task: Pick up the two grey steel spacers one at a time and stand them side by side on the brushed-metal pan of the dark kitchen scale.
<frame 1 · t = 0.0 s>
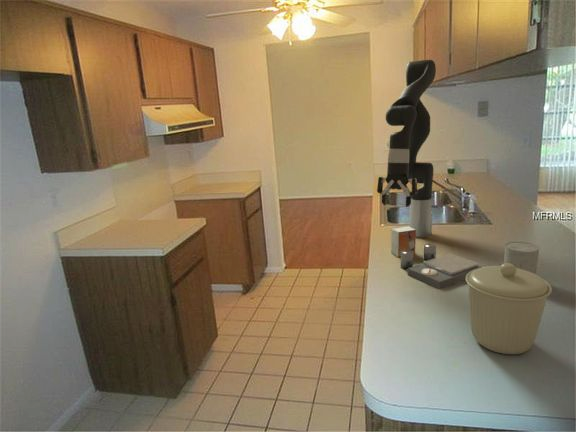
hand: (395, 205, 147), 22 cm above the worktop, tool pointing down, fingers open, 8 cm apart
canister: (501, 343, 99), on the worktop
spacer a: (406, 267, 147), on the worktop
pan: (450, 263, 140), point 3 cm above the worktop, slide at -0.4 cm
grey round cylinder: (518, 282, 130), on the worktop
spacer b: (429, 260, 152), on the worktop
scale: (444, 273, 139), on the worktop
small box: (403, 254, 160), on the worktop
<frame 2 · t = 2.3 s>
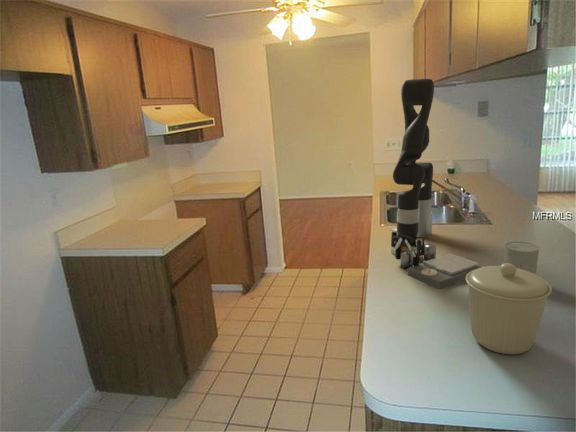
hand: (406, 262, 146), 2 cm above the worktop, tool pointing down, fingers open, 8 cm apart
nothing on the worktop moved.
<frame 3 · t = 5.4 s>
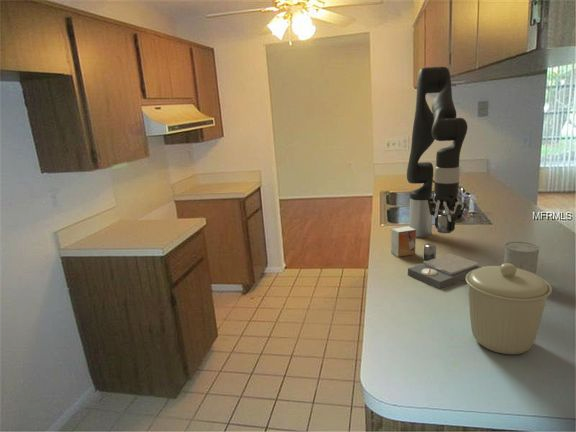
hand: (444, 229, 135), 17 cm above the worktop, tool pointing down, fingers closed on spacer a, 4 cm apart
spacer a: (444, 231, 135), point 16 cm above the worktop, touching gripper
everything else where it was.
when the fingers open (6 cm above the worktop, at t = 7.7 s): spacer a drops 1 cm, resting on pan.
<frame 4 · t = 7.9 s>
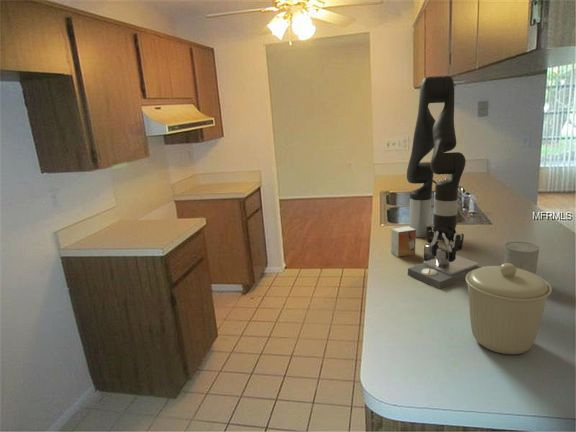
hand: (443, 258, 137), 6 cm above the worktop, tool pointing down, fingers open, 6 cm apart
spacer a: (442, 265, 138), point 4 cm above the worktop, touching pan
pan: (450, 263, 140), point 3 cm above the worktop, slide at -0.5 cm, touching spacer a
everything else where it was.
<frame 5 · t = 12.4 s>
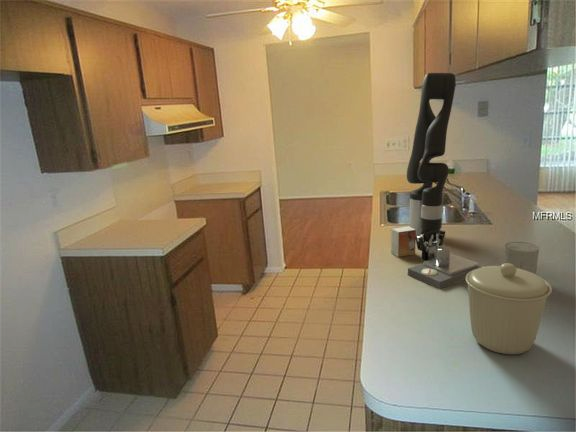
hand: (429, 258, 152), 1 cm above the worktop, tool pointing down, fingers closed on spacer b, 4 cm apart
spacer b: (429, 259, 152), on the worktop, touching gripper
everything else where it was.
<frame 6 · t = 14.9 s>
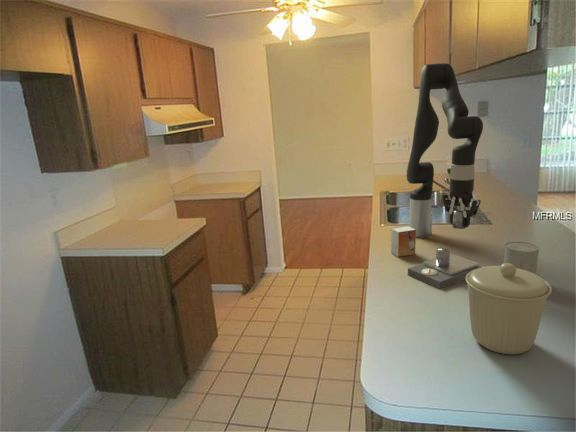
hand: (459, 225, 138), 17 cm above the worktop, tool pointing down, fingers closed on spacer b, 4 cm apart
spacer b: (459, 227, 138), point 16 cm above the worktop, touching gripper
everything else where it was.
when the fingers open (6 cm above the worktop, at t = 17.2 s): spacer b drops 1 cm, resting on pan.
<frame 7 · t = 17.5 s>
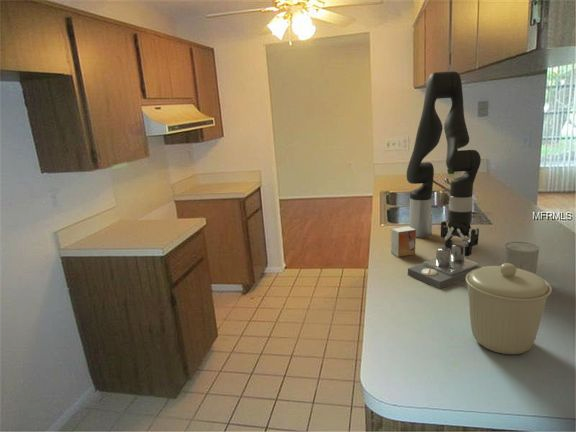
hand: (457, 252, 141), 6 cm above the worktop, tool pointing down, fingers open, 7 cm apart
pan: (450, 263, 140), point 3 cm above the worktop, slide at -0.5 cm, touching spacer a, spacer b
spacer b: (457, 260, 141), point 4 cm above the worktop, touching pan
everything else where it was.
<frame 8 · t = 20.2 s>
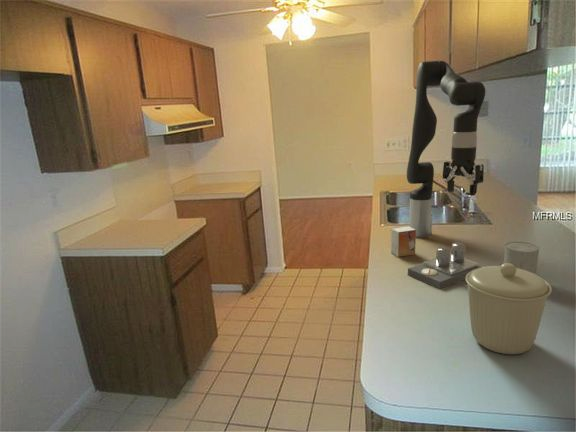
hand: (461, 193, 135), 28 cm above the worktop, tool pointing down, fingers open, 8 cm apart
nothing on the worktop moved.
at the end: spacer a inside the target area on the scale (3.5 cm from its centre), point 3.5 cm above the scale's base; spacer b inside the target area on the scale (4.0 cm from its centre), point 3.6 cm above the scale's base; spacer b tilted 1° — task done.
